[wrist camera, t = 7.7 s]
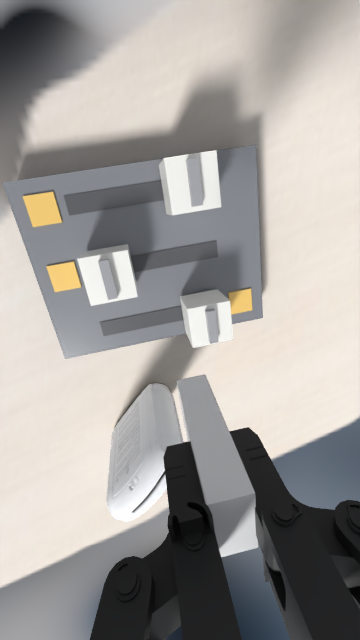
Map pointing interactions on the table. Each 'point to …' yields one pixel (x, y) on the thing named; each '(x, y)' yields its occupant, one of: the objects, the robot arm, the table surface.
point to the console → (139, 248)
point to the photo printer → (141, 452)
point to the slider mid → (108, 274)
